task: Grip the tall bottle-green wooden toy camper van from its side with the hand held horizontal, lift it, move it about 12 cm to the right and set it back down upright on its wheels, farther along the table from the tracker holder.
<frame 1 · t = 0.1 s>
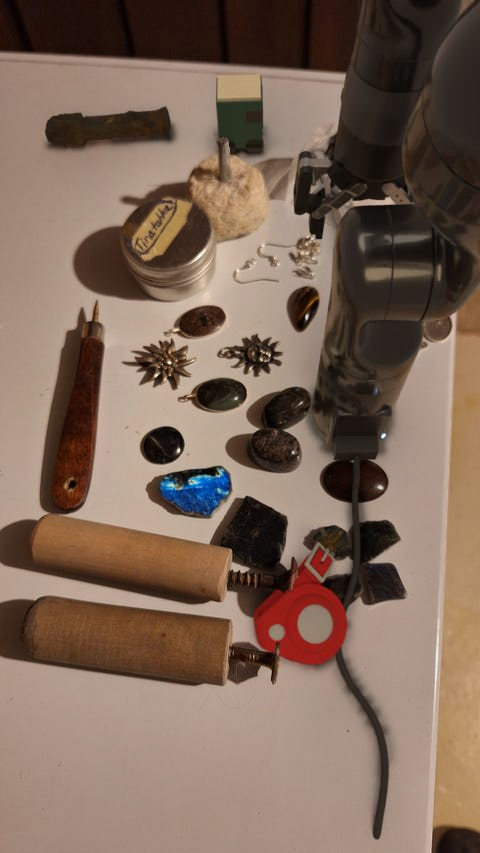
hand: (358, 231, 67), 17 cm above the table, tool pointing down, fingers open, 8 cm apart
caliper: (330, 206, 91), on the table
camper van: (241, 141, 96), on the table
tracker holder: (309, 608, 68), on the table
hand tool: (111, 142, 97), on the table
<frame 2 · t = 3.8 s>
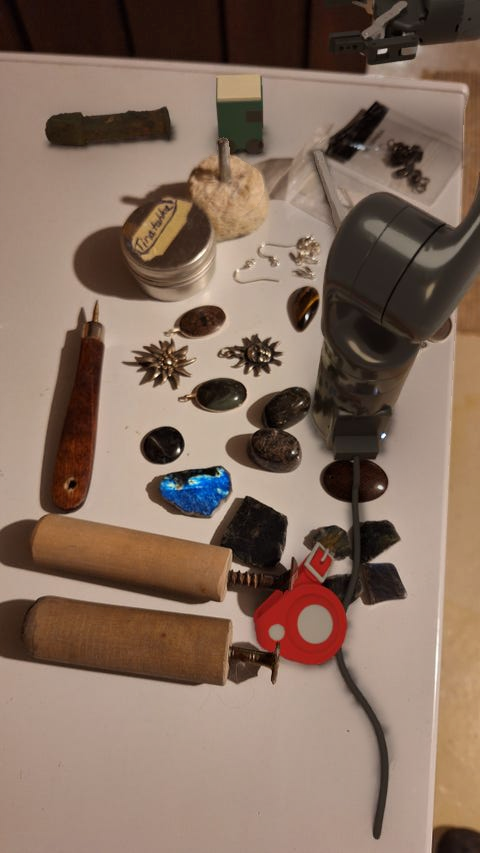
hand: (325, 20, 79), 19 cm above the table, tool horizontal, fingers open, 8 cm apart
nothing on the table moved.
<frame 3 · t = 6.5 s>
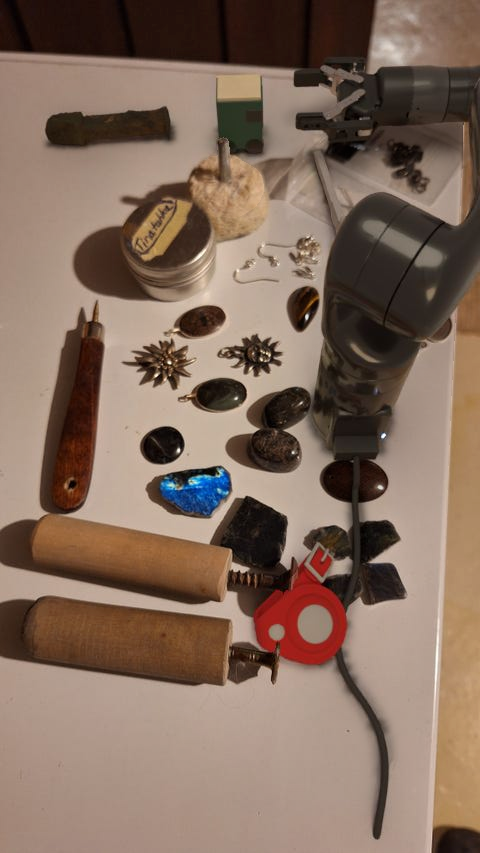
hand: (294, 99, 90), 7 cm above the table, tool horizontal, fingers open, 8 cm apart
nothing on the table moved.
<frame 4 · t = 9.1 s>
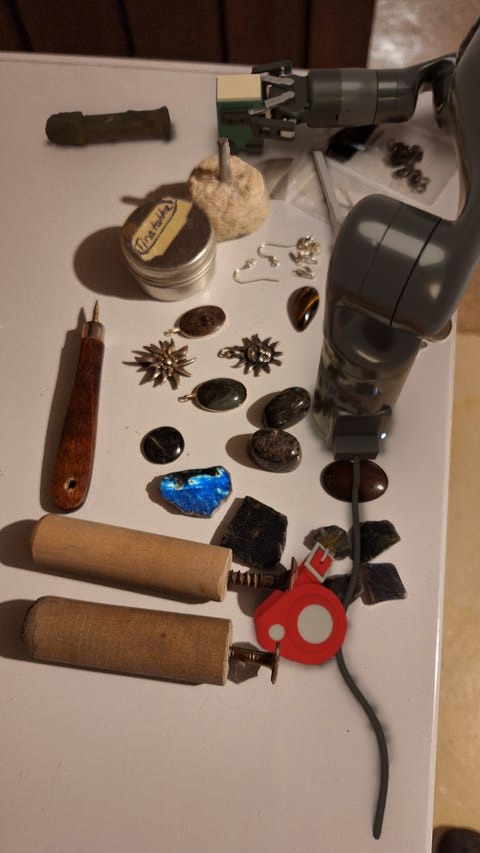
hand: (221, 102, 90), 7 cm above the table, tool horizontal, fingers closed on camper van, 5 cm apart
camper van: (241, 141, 96), on the table, touching gripper
everything else where it was.
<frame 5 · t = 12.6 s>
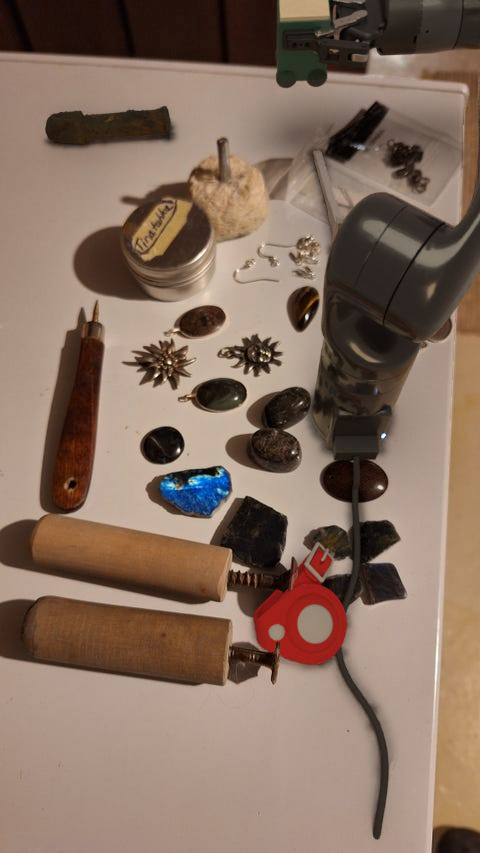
hand: (282, 25, 80), 18 cm above the table, tool horizontal, fingers closed on camper van, 5 cm apart
camper van: (300, 75, 86), point 11 cm above the table, touching gripper
everything else where it was.
when the fingers open (7 cm above the table, at t = 16.5 s): camper van stays where it is, on the table.
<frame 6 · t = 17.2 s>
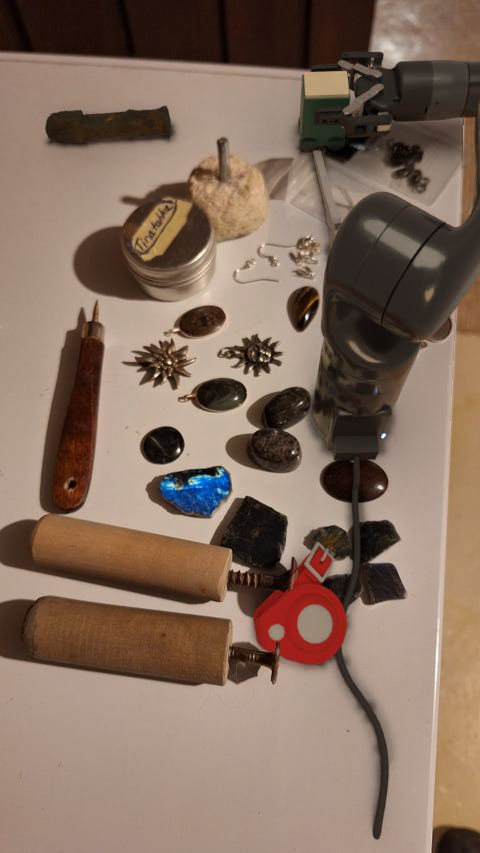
hand: (312, 95, 89), 8 cm above the table, tool horizontal, fingers open, 8 cm apart
camper van: (320, 139, 96), on the table
everything else where it was.
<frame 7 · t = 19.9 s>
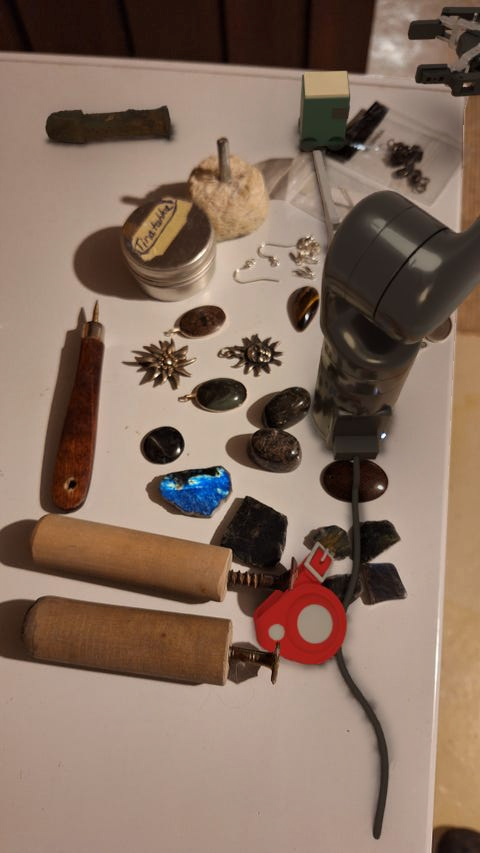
hand: (412, 52, 83), 14 cm above the table, tool horizontal, fingers open, 8 cm apart
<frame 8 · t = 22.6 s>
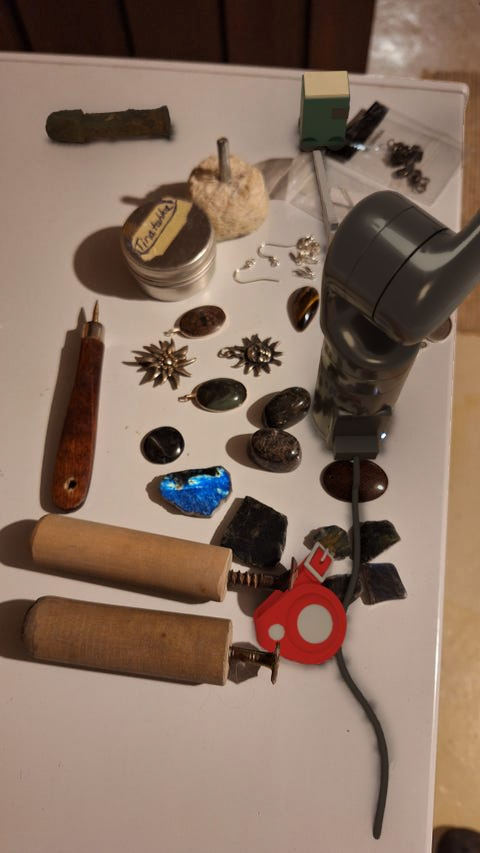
at the end: camper van tilted 0°; the gripper is holding nothing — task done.
